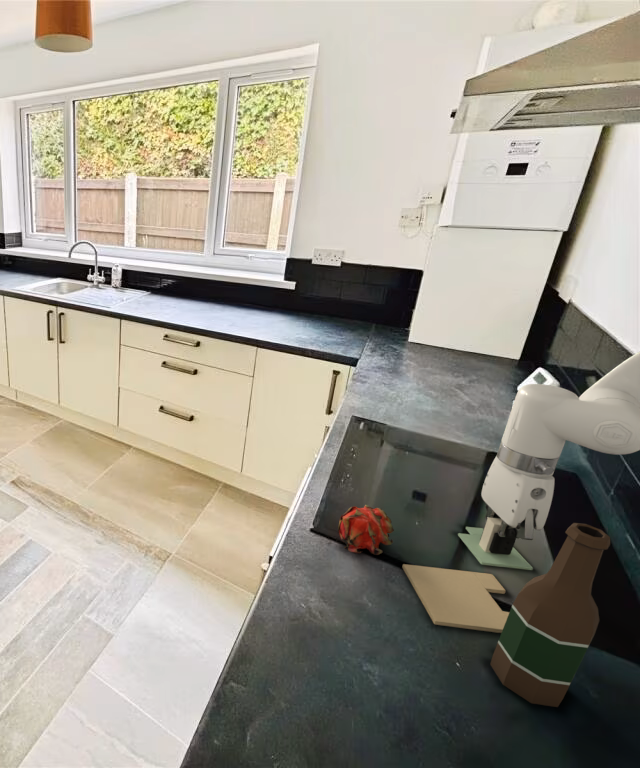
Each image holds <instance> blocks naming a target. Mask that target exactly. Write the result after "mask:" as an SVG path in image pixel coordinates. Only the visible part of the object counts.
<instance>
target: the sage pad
mask: <svg viewBox="0 0 640 768" xmlns="http://www.w3.org/2000/svg"><path fill="white" fill-rule="evenodd" d="M501 522H502V519H499V518H489V517H488V519H487V522H486V521H485V524H486V525H485V524H484V527H485V528H484V527H473V526H465V531H467V532H468V533H460V532H459V533H457V536H458V537H459V538H460V539H461V541H462V542H463V543H464V545H465V546H466V548H467V549H468V550H469V551H470V552H471V554H472V555H473V556H474V557H475V558H476V560H477V561H478V562H479V564H480V565H483V566H493V567H499V568H507V569H508V568H509V569H519V570H527V571H533V570H534V567H533V566H532V565H531V564H530V563H529V562H528V561H527V560H526V558H524V557H523V556H522V555H521V554H520V552H519V551H518V550H517V549H516V548H515V547H514V546H513V549H512V551H511V554H510V555H504V554H495V553H491V552H490V551H489V548H490V545H491V543H492V540H493V537H494V534H495V533H498V531H499V528H500V525H501ZM510 528H513V527H511V526H509V528H508V529H510ZM483 530H484V531H483ZM482 533H483V534H482ZM481 536H482V537H481ZM480 539H481V540H480Z"/></svg>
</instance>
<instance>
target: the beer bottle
mask: <svg viewBox="0 0 640 768" xmlns="http://www.w3.org/2000/svg"><path fill="white" fill-rule="evenodd" d="M564 533H565V534H566V535H567V536H566V538H565V540H564V542H563V544H562V546H561V548H560V549H559V551H558V554H557V556H556V557H555V559H554V561H553V563H552V565H551V567H550V568H549V570H548V572H546V573H543V574H540V575H538V576H535V577H533V578H532V579H530V580H529V581H528V582H526V583H525V584H524V585H523V587H522V588H521V590H520V591H519V592H518V594H517V596H516V597H515V599H514V601H513V603H512V605H511V607H510V610H509V611H508V612H509V615H508V618H507V620H506V623H505V625H504V628H503V630H502V633H500V635H499V638H498V641H497V643H496V646H495V648H494V651H493V654H492V657H491V660H490V664H489V665H490V666H491V668H492V669H493V671H494V674H496V676H497V678H498V679H499V681H500V682H501V684H502V685H503V686H504V687H505V688H507V689H509V690H511V692H513V693H515V694H516V695H518V696H519V697H521V698H523V699H524V700H525V701H527V702H528V703H530V704H533V705H541V706H545V707H552V708H559V706H560V704H561V703H562V701H563V700H564V698H565V695H566V694H567V692H568V690H569V688H570V686H571V684H572V682H573V680H574V678H575V675H576V673H577V672H578V669H579V667H580V665H581V663H582V661H583V659H584V657H585V655H586V653H587V651H588V649H589V647H590V644H591V643H592V641H593V639H594V637H595V634H596V632H597V629H598V626H599V623H600V616H599V608H598V606H597V603H596V601H595V599H594V598H593V595H592V590H593V589H592V588H593V582H594V580H595V576H596V574H597V570H598V567H599V564H600V563H601V559H602V556H603V554H604V551H605V550H608V549H609V547H610V546H611V536H609V535H608V534H607V533H606V532H605V531H603V530H602V529H600V528H597V527H594V526H592V525H590V524H587V523H579V522H573V523H572V524H571V525H570V526H569V527H567V529H566V530H565V532H564Z"/></svg>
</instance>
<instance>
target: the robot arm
mask: <svg viewBox="0 0 640 768" xmlns="http://www.w3.org/2000/svg"><path fill="white" fill-rule="evenodd" d="M566 441H568V442H571V443H573V444H575V445H578V446H580V447H583V448H587V449H590V450H592V451H595V452H599V453H603V454H608V455H616V456H617V455H618V456H620V455H621V456H622V455H630V454H633V453H637V452H638V451H640V351H638V352H636V353H634V354H633V355H631V356H630V357H629V358H627V359H625V360H623V361H622V362H621V363H620V364H618V365H617V366H616V367H613V369H611V370H610V371H609V372H608V373H606V374H605V375H603V376H602V377H601V378H600V379H598V380H597V381H596V382H595V383H594V384H592V385H591V386H590V387H589V388H587V389H586V390H585V391H584V392H583V393H582V394H581V395H580V396H578V395H577V394H576V393H575V392H573V391H571V390H569V389H566V388H563V387H560V386H555V385H550V384H543V383H529V384H524V385H523V386H521V387H520V388H519V389H518V391H517V393H516V394H515V397H514V401H513V404H512V407H511V410H510V413H509V416H508V419H507V422H506V426H505V429H504V431H503V435H502V438H501V441H500V444H499V446H498V450H497V453H496V456H495V458H494V459H493V461H492V463H491V465H490V467H489V469H488V471H487V474H486V476H485V479H484V483H483V485H482V489H481V493H480V494H481V495H480V496H481V499H482V501H483V503H484V504H485V510H486V513H485V517H484V520H485V524H484V526H483V529H484V528H485V525H486V522H487V519H488V517H489V518H499V519H502V522H501V525H500V528H499V531H498V533H495V534H494V537H493V540H492V543H491V545H490V548H489V551H490V552H491V553H495V554H504V555H510V554H511V551H512V549H513V547H514V545H515V543H516V540H517V539H518V540H519V539H521V540H525V541H533V540H534V530H536V531H542V530H543V529H544V526H545V525H546V522H547V518H548V516H549V512H550V509H551V505H552V503H553V502H552V501H553V497H554V492H555V491H554V490H555V477H554V476H553V475H554V472H555V470H556V467H557V466H558V462H559V459H560V457H561V455H562V452H563V449H564V448H565V447H564V446H565V444H566ZM509 526H511V527H513V528H510V529H508V528H509ZM483 531H484V530H483ZM482 534H483V533H482ZM481 537H482V536H481ZM480 540H481V539H480Z"/></svg>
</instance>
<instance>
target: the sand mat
mask: <svg viewBox="0 0 640 768" xmlns="http://www.w3.org/2000/svg"><path fill="white" fill-rule="evenodd" d="M401 568H402V569H403V571H404V573H405V575H406V577H407V578H408V580H409V583H410V584H411V586H412V587H413V589H414V591H415V593H416V595H417V596H418V598H419V600H420V602H421V603H422V605H423V607H424V608H425V611H426V612H427V614H428V616H429V617H430V620H431V621H432V623H433V624H434V625H436V626H437V625H438V626H445V627H451V628H458V629H459V628H460V629H468V630H476V631H482V632H483V631H484V632H490V633H491V632H492V633H497V634H501V633H502V630H503V628H504V625H505V623H506V620H507V618H508V615H509V612H510V611H503V610H502V608H501V607H500V606H499V604H498V603H497V602H496V601H495V599H494V598H493V597H492V595H491V594H490V593H494V594H503V595H505V593H506V589H505V588H504V587H503V585H502V584H501V583H500V581H498V579H497V578H496V577H495V576H494V574H493V573H484V572H477V571H467V570H458V569H449V568H443V567H442V568H441V567H432V566H424V565H414V564H405V563H403V564H402V567H401Z"/></svg>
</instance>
